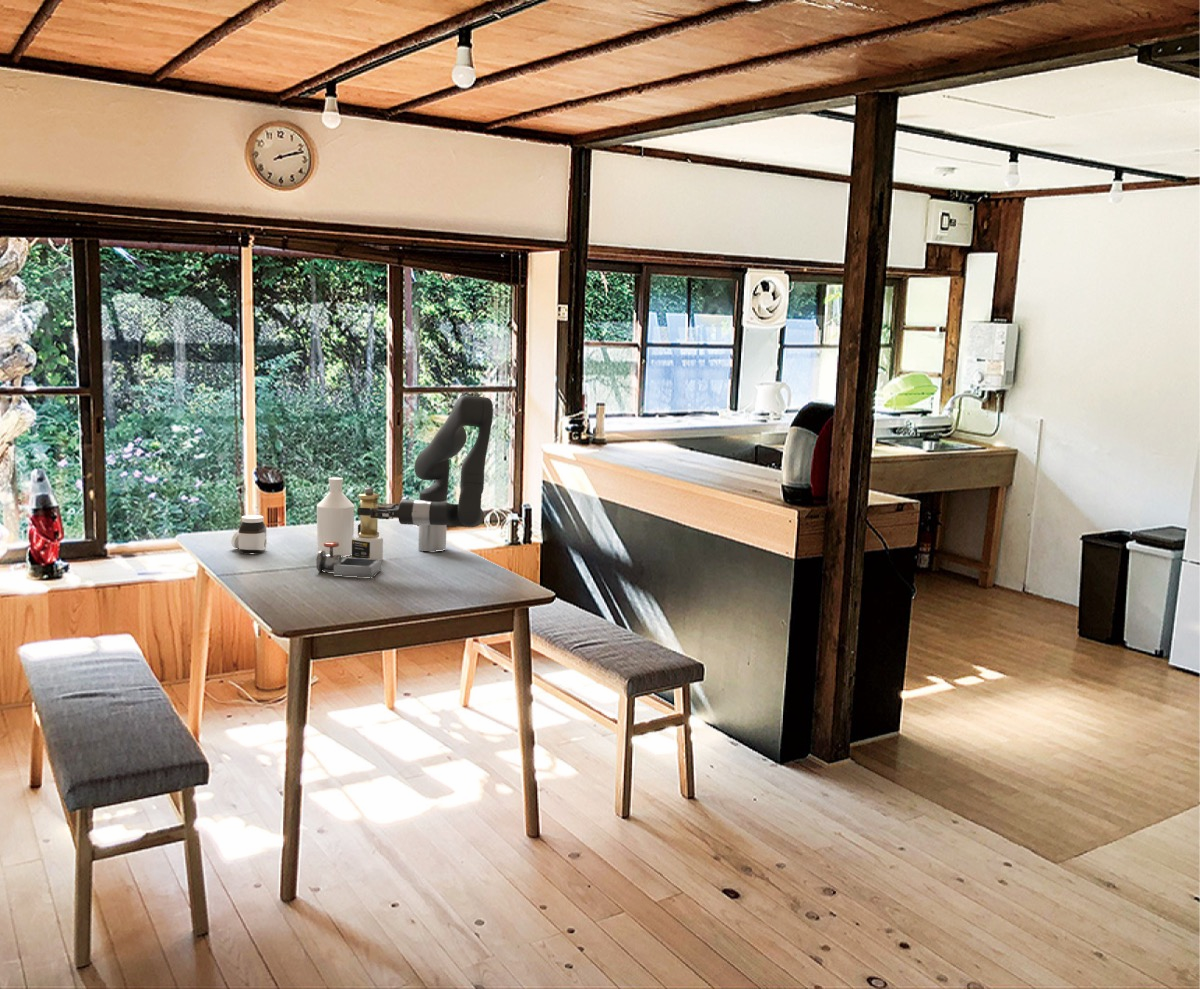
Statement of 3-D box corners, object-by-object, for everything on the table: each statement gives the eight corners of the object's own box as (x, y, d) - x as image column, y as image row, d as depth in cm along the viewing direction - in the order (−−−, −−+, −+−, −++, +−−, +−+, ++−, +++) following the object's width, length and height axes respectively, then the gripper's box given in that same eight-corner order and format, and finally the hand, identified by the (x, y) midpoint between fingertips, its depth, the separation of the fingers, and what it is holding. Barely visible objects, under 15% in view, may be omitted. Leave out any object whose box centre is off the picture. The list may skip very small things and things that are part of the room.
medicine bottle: (351, 560, 339) (351, 523, 337) (365, 556, 346) (365, 520, 344) (369, 563, 336) (369, 526, 334) (383, 559, 343) (383, 522, 341)
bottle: (358, 551, 353) (359, 477, 349) (346, 558, 341) (347, 482, 337) (324, 549, 354) (324, 475, 350) (311, 556, 342) (311, 479, 338)
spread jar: (259, 555, 340) (259, 520, 338) (224, 554, 340) (223, 518, 338) (271, 548, 352) (271, 513, 350) (237, 546, 352) (237, 512, 350)
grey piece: (325, 567, 328) (325, 538, 327) (381, 570, 328) (381, 542, 326) (313, 575, 317) (313, 546, 316) (371, 578, 316) (371, 549, 315)
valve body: (359, 534, 323) (359, 486, 320) (379, 534, 324) (380, 486, 321) (357, 538, 317) (358, 489, 315) (378, 538, 318) (378, 489, 315)
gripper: (421, 496, 325) (366, 493, 325) (411, 504, 311) (353, 501, 311) (421, 520, 326) (366, 517, 327) (410, 529, 312) (353, 526, 312)
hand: (360, 509), depth 319 cm, fingers closed on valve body, 5 cm apart
